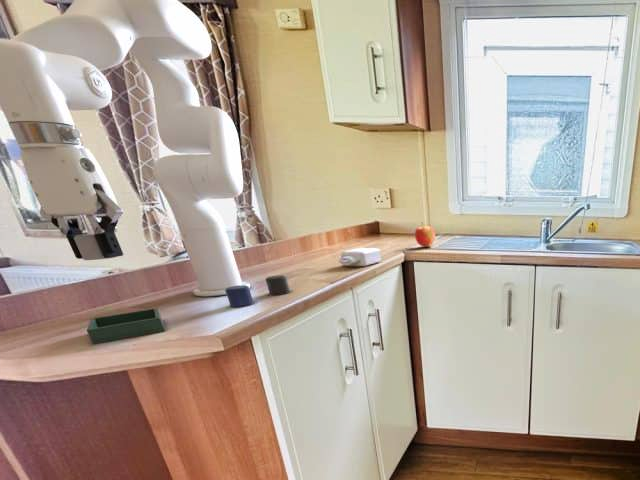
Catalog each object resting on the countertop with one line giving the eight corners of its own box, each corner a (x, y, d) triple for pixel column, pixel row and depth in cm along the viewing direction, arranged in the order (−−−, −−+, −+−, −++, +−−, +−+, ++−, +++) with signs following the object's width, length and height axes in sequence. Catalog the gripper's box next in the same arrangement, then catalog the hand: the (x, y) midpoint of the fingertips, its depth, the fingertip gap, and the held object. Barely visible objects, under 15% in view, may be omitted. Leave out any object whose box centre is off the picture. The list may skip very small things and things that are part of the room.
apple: (439, 246, 179) (437, 221, 174) (424, 248, 173) (421, 222, 169) (428, 245, 184) (425, 220, 180) (413, 247, 179) (409, 222, 174)
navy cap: (229, 304, 97) (223, 287, 95) (251, 301, 99) (246, 284, 98) (232, 308, 94) (226, 290, 92) (255, 304, 96) (250, 287, 95)
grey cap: (84, 258, 75) (73, 235, 73) (118, 255, 78) (108, 232, 76) (82, 261, 72) (71, 236, 70) (117, 257, 74) (107, 233, 73)
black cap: (267, 293, 107) (263, 277, 105) (287, 290, 109) (283, 274, 108) (272, 296, 104) (267, 279, 102) (292, 292, 106) (287, 276, 104)
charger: (330, 269, 135) (359, 261, 148) (354, 270, 133) (381, 262, 145) (327, 254, 133) (356, 247, 146) (351, 254, 131) (379, 247, 143)
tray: (97, 331, 81) (90, 318, 80) (162, 320, 87) (157, 307, 86) (93, 344, 74) (86, 330, 73) (165, 331, 80) (159, 317, 79)
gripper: (119, 138, 70) (161, 253, 77) (29, 144, 71) (79, 255, 79) (72, 133, 63) (124, 259, 70) (-27, 139, 64) (35, 261, 72)
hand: (100, 256), depth 75 cm, fingers closed on grey cap, 4 cm apart
